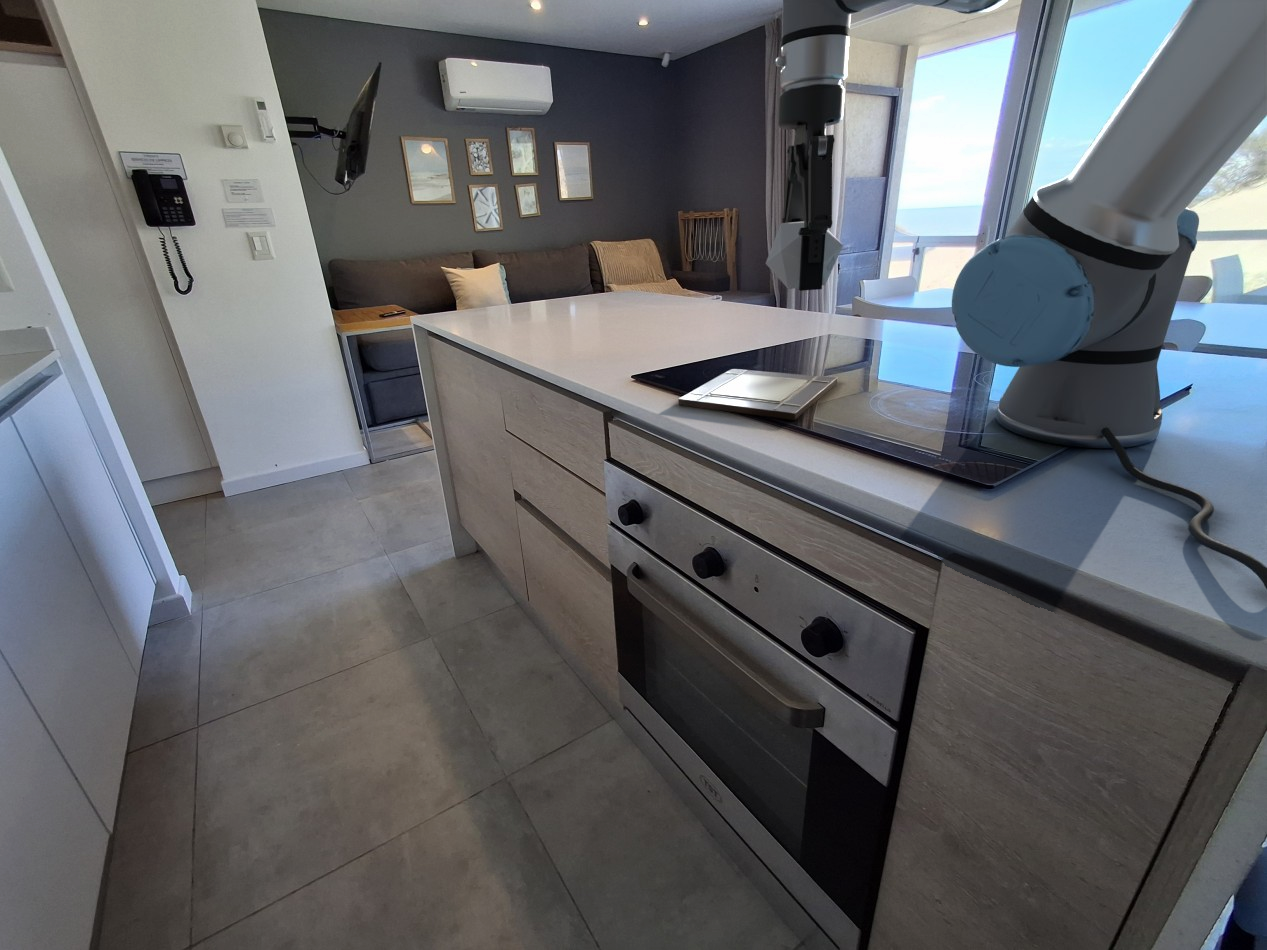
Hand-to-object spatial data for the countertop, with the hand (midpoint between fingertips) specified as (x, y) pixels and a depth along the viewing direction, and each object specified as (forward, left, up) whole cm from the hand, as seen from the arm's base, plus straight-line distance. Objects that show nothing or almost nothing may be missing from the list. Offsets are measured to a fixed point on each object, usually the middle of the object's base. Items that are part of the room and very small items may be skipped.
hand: (801, 284), depth 77 cm
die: (0, 0, 0) cm, 0 cm away
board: (+3, +5, -16) cm, 17 cm away
